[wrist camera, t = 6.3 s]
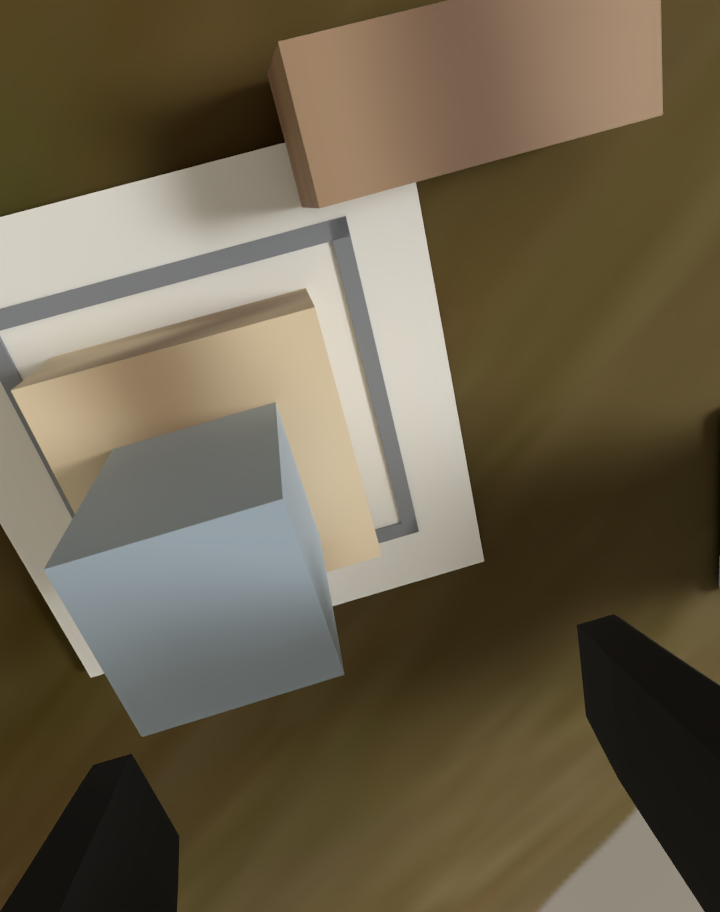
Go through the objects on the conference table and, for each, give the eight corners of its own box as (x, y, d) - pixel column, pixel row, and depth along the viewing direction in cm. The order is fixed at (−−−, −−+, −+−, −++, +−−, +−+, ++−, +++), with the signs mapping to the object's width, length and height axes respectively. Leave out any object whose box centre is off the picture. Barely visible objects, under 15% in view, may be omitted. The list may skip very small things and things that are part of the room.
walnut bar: (579, -5, 15) (659, -52, 12) (588, 129, 16) (662, 114, 13) (266, 72, 14) (277, 41, 11) (302, 207, 15) (320, 208, 13)
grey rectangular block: (275, 401, 14) (282, 498, 10) (320, 538, 16) (344, 675, 11) (112, 449, 14) (43, 569, 10) (175, 581, 16) (141, 737, 11)
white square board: (400, 113, 15) (403, 111, 15) (481, 556, 21) (485, 563, 21) (-148, 256, 15) (-159, 258, 14) (92, 671, 21) (89, 679, 20)
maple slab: (305, 287, 16) (314, 307, 14) (364, 504, 19) (382, 556, 17) (52, 356, 16) (10, 390, 13) (152, 566, 19) (134, 628, 16)
